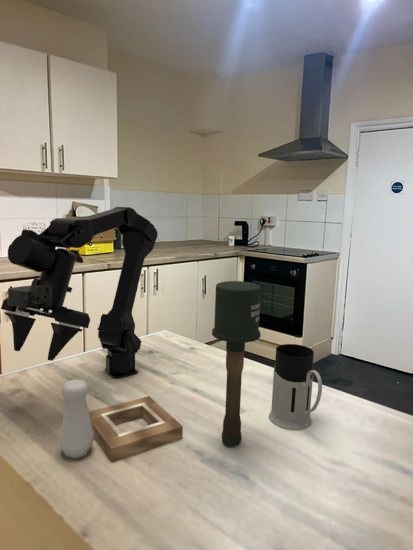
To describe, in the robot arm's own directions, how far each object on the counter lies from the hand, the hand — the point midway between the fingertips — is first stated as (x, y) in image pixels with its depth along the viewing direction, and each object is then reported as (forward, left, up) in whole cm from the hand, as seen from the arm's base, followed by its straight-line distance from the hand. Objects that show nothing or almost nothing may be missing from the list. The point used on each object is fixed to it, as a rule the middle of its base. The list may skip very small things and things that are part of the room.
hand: (32, 355), depth 82 cm
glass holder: (-44, +29, -14) cm, 54 cm away
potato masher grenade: (-29, +27, -14) cm, 42 cm away
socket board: (-15, +14, -14) cm, 24 cm away
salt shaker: (-4, +15, -14) cm, 21 cm away
